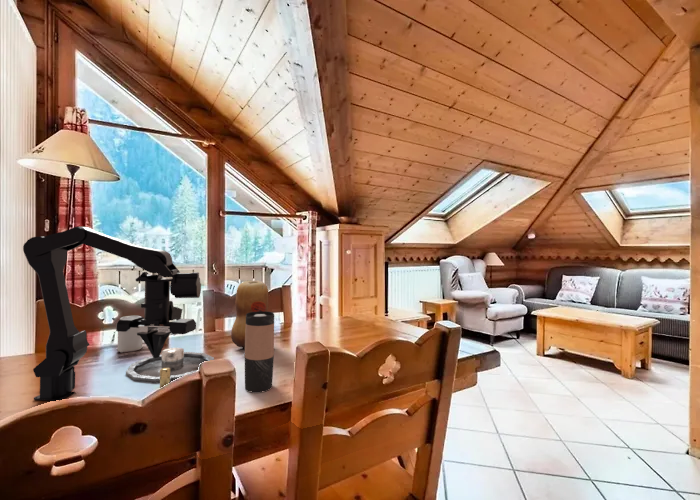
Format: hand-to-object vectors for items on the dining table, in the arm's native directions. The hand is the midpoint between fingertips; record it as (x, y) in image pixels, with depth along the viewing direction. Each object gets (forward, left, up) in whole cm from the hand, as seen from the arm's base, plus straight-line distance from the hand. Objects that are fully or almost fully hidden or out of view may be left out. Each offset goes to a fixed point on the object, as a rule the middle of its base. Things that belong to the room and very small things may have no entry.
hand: (156, 357), depth 92 cm
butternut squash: (+39, -11, -9) cm, 42 cm away
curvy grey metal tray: (+12, +3, -8) cm, 15 cm away
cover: (+14, +4, -8) cm, 17 cm away
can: (+29, +29, -9) cm, 42 cm away
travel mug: (+5, -26, -9) cm, 28 cm away
